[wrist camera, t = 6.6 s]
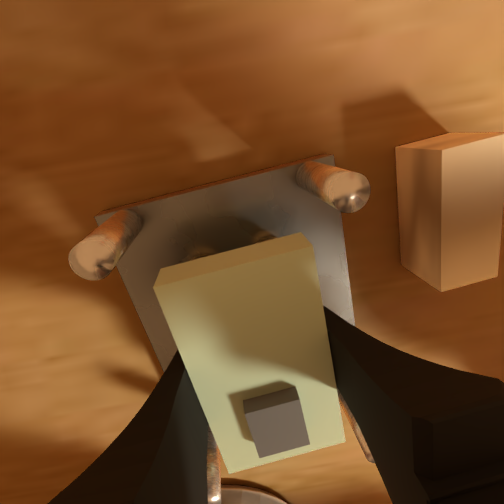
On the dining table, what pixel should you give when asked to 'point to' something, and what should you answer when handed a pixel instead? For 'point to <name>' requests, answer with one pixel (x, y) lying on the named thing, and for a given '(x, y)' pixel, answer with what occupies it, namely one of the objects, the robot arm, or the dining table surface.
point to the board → (256, 349)
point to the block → (451, 207)
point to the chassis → (228, 244)
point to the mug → (247, 495)
